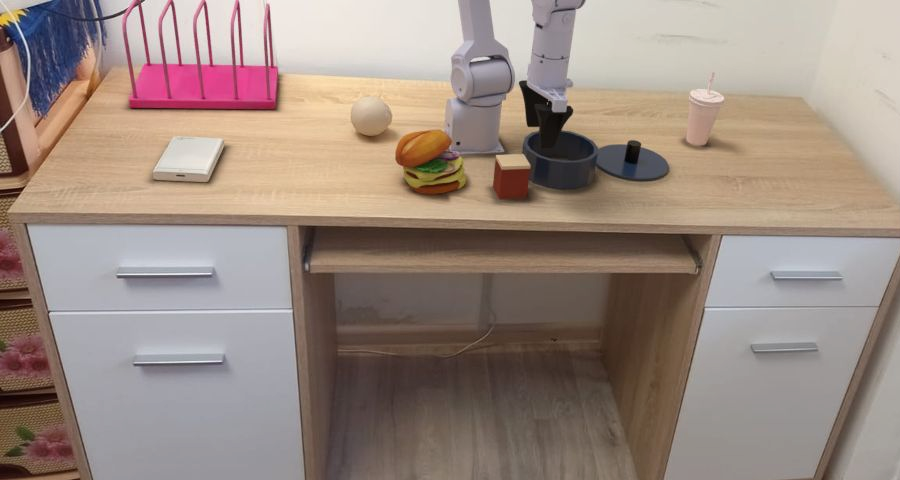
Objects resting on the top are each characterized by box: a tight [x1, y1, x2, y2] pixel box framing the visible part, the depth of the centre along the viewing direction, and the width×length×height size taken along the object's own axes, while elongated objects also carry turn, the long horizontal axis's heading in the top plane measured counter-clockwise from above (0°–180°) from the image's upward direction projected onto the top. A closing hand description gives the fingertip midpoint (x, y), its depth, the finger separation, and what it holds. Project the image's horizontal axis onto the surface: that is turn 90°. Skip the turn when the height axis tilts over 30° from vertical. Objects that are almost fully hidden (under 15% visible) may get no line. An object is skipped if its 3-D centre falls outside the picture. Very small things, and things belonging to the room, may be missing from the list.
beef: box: [492, 153, 531, 200], centre depth 132 cm, size 5×4×6 cm
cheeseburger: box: [394, 128, 467, 195], centre depth 132 cm, size 10×11×10 cm
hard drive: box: [152, 135, 225, 183], centre depth 132 cm, size 2×8×12 cm
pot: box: [521, 129, 599, 191], centre depth 139 cm, size 12×12×6 cm
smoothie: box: [685, 70, 725, 146], centre depth 153 cm, size 6×6×14 cm
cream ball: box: [350, 95, 393, 137], centre depth 146 cm, size 7×7×7 cm
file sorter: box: [121, 0, 279, 110], centre depth 152 cm, size 17×25×16 cm
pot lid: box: [595, 139, 669, 182], centre depth 145 cm, size 13×13×4 cm
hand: (540, 136), depth 131 cm, fingers open, 7 cm apart
